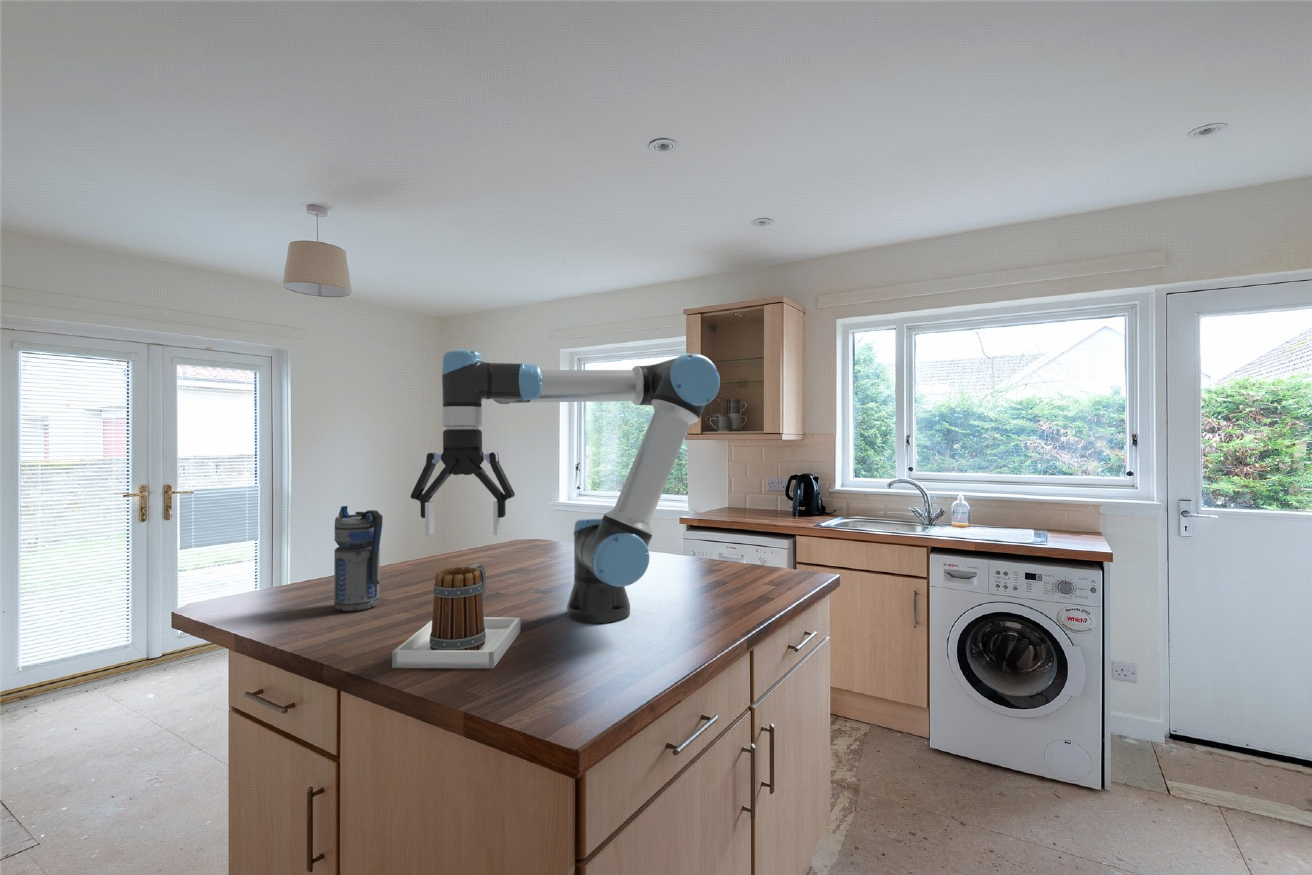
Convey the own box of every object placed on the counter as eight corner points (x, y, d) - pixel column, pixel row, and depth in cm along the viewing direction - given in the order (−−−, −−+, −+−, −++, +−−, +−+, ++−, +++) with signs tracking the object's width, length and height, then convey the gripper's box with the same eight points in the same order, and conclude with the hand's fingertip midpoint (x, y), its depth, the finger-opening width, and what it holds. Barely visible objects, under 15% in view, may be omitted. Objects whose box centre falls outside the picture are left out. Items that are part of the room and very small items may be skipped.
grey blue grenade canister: (362, 615, 145) (363, 510, 145) (322, 609, 150) (322, 507, 150) (395, 605, 155) (396, 506, 155) (357, 599, 160) (357, 503, 160)
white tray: (520, 631, 134) (520, 617, 134) (493, 668, 112) (493, 651, 112) (435, 630, 134) (435, 617, 134) (392, 667, 113) (392, 651, 113)
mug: (469, 658, 114) (469, 578, 114) (418, 654, 116) (418, 575, 117) (505, 632, 130) (506, 561, 130) (459, 629, 132) (460, 559, 132)
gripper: (528, 428, 127) (529, 530, 127) (408, 429, 127) (409, 531, 127) (520, 427, 119) (521, 536, 120) (392, 428, 120) (393, 537, 120)
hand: (463, 534), depth 123 cm, fingers open, 13 cm apart
